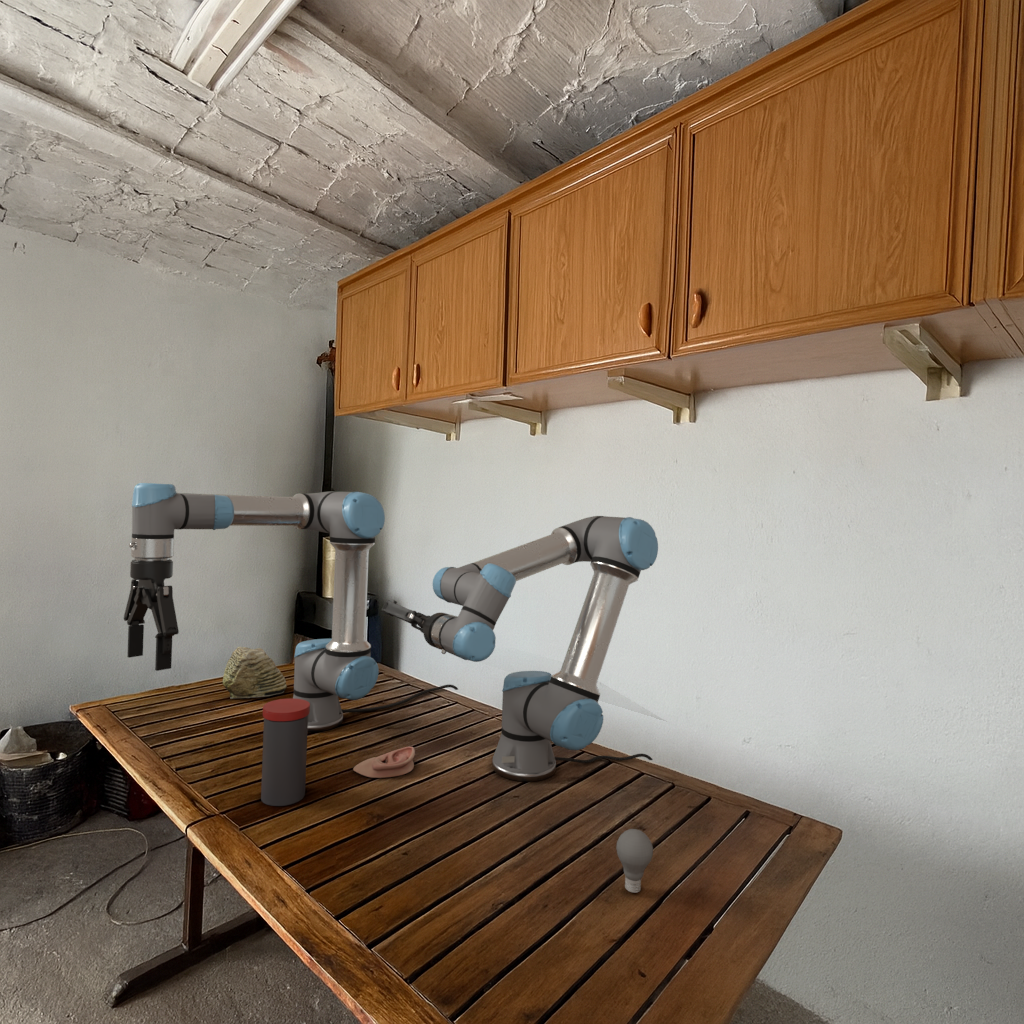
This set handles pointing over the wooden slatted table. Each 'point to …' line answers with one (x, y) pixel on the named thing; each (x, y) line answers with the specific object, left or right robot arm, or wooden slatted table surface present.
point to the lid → (286, 709)
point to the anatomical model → (388, 764)
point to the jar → (284, 761)
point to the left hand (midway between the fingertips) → (148, 662)
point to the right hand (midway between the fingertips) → (408, 619)
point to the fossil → (252, 674)
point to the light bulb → (634, 857)
